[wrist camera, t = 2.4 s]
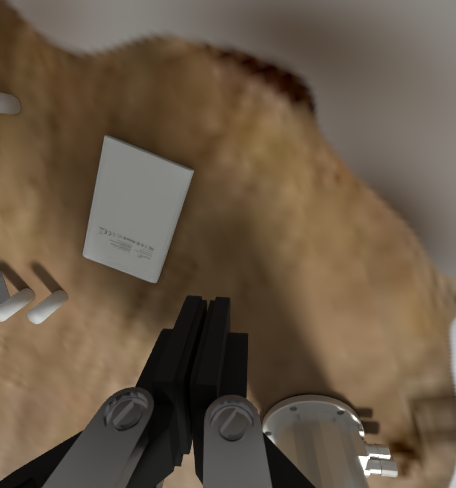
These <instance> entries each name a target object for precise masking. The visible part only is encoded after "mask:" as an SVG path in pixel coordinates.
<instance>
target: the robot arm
mask: <svg viewBox="0 0 456 488" xmlns="http://www.w3.org/2000/svg"><path fill="white" fill-rule="evenodd" d="M247 359H248V334H247V333H230V298H228V297H216V299H215V301H213V300H211V301H210V304H209V308H208V311H207V300H202V297H201V296H187V297H186V299H185V301H184V304H183V306H182V309H181V311H180V314H179V316H178V318H177V321H176V323H175V326H174V328H173V329H163V330H162V331H161V333H160V335H159V337H158V339H157V341H156V343H155V345H154V348H153V350H152V352H151V354H150V356H149V358H148V360H147V363H146V365H145V367H144V369H143V371H142V373H141V375H140V377H139V380H138V382H137V384H136V386H135V387H130V388H125V389H122V390H120V391H118V392H116V393H114V394H113V395H112V396H110V397H109V398H108V399H107V400H106V401H105V402H104V403H103V404H102V406H101V407H100V408H99V410H98V411H97V413H96V414H95V415H94V417H93V418H92V419H91V421H90V422H89V424H88V425H87V426H86V428H85V429H84V430H83V431H81V432H79V433H78V434H76V435H74V436H73V437H71V438H69V439H68V440H66V441H64V442H63V443H61V444H59V445H58V446H56V447H54V448H53V449H51V450H49V451H47V452H46V453H44V454H42V455H41V456H39V457H37V458H36V459H34V460H32V461H31V462H29V463H27V464H26V465H24V466H22V467H21V468H19V469H17V470H16V471H14V472H12V473H11V474H10V475H8V476H7V477H5V478H4V479H3V480H1V481H0V488H162V486H163V482H164V479H165V478H166V477H167V476H168V475H170V474H171V473H172V472H173V471H174V467H175V466H181V463H182V459H183V454H189V453H190V450H191V445H192V440H193V448H194V457H195V472H196V475H197V477H198V478H199V480H200V481H201V483H202V484H203V488H369V485H368V482H367V479H366V477H369V476H370V474H378V475H380V476H390V477H397V466H396V463H395V461H394V459H393V458H392V457H391V456H390V451H389V448H388V446H387V445H385V444H367V442H366V441H364V436H365V433H364V429H363V425H362V423H361V421H360V418H359V416H358V415H357V414H356V412H355V411H354V410H353V409H352V408H351V407H349V406H348V405H347V404H345V403H343V402H341V401H339V400H337V399H334V398H331V397H327V396H322V395H300V396H295V397H291V398H288V399H285V400H283V401H281V402H279V403H278V404H276V405H275V406H273V407H272V408H271V409H270V410H269V411H268V412H267V414H266V415H265V417H264V419H263V422H262V427H261V422H260V417H259V414H258V411H257V409H256V408H255V406H254V405H253V403H252V402H250V401H249V400H248V399H246V397H247Z"/></svg>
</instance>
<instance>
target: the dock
mask: <svg viewBox="0 0 456 488" xmlns="http://www.w3.org/2000/svg"><path fill="white" fill-rule="evenodd" d="M20 110H21V105H20V102H19V100H18V99H17V98H16V97H15V96H14V95H11V94H5V93H0V113H3V114H13V115H16V114H18V113H19V112H20ZM34 298H35V294H34V292H33V291H32V290H31V289H28V288H24V289H22V290H21V291H19V292H18V293H16V294H15V295H13V296H12V297H9V294H8V291H7V288H6V285H5V282H4V279H3V276H2V273H1V270H0V322H2V321H5V320H6V319H7V318H9V317H10V316H11V315H13V314H14V313H15V312H17V311H18V310H20V309H21V308H22V307H24V306H25V305H26V304H28V303H29V302H30V301H32V300H33V299H34ZM67 299H68V296H67V294H66V293H65V292H64V291H62V290H56V291H55V292H54V293H52V294H51V295H50V296H49V297H47V298H46V299H45V300H43V301H42V302H41V303H39V304H38V305H37V306H36V307H34V308H33V309H32V310H30V311H29V312H28V314H27V317H28V319H29V320H30V321H31V322H33V323H35V324H40V323H41V322H43V321H44V320H45V319H46V318H47V317H48V316H49V315H51V314H52V313H53V312H54V311H55V310H56V309H58V308H59V307H60V306H61V305H62V304H63V303H64V302H66V301H67Z"/></svg>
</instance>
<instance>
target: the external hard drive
mask: <svg viewBox="0 0 456 488" xmlns="http://www.w3.org/2000/svg"><path fill="white" fill-rule="evenodd" d="M193 173H194V170H193V169H191V168H188V167H186V166H183V165H181V164H178V163H176V162H173V161H171V160H168V159H166V158H164V157H161V156H159V155H156V154H154V153H151V152H149V151H146V150H144V149H141V148H139V147H137V146H134V145H132V144H129V143H127V142H124V141H122V140H119V139H117V138H115V137H112V136H110V135H105V137H104V142H103V147H102V153H101V158H100V164H99V169H98V174H97V180H96V185H95V190H94V196H93V201H92V206H91V212H90V217H89V222H88V228H87V233H86V239H85V244H84V249H83V256H84V257H85V258H88V259H90V260H93V261H95V262H98V263H101V264H104V265H106V266H109V267H112V268H114V269H117V270H119V271H122V272H125V273H127V274H130V275H132V276H135V277H138V278H140V279H143V280H145V281H148V282H151V283H157V281H158V280H159V277H160V274H161V271H162V268H163V265H164V262H165V259H166V256H167V253H168V250H169V247H170V244H171V241H172V238H173V235H174V232H175V228H176V225H177V222H178V219H179V216H180V213H181V210H182V207H183V204H184V201H185V198H186V195H187V192H188V189H189V186H190V183H191V179H192V176H193Z"/></svg>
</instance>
